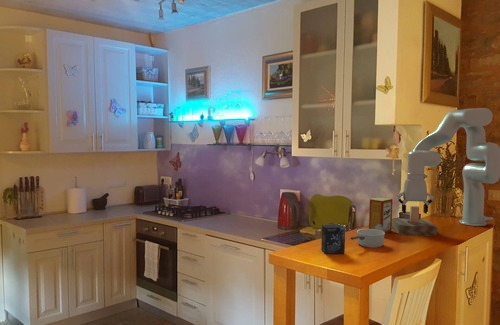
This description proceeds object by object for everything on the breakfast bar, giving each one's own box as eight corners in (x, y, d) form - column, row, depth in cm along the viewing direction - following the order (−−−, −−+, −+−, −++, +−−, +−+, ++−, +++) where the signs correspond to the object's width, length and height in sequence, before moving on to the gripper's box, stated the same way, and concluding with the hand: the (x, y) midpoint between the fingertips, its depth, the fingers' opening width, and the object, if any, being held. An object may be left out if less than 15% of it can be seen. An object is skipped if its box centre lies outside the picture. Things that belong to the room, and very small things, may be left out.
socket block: (425, 228, 207) (425, 219, 206) (436, 236, 191) (437, 226, 190) (392, 227, 208) (392, 218, 208) (400, 235, 192) (401, 225, 192)
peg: (416, 230, 201) (417, 206, 200) (419, 232, 197) (420, 207, 196) (408, 230, 202) (409, 205, 201) (410, 232, 198) (411, 207, 197)
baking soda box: (378, 228, 205) (379, 196, 203) (391, 231, 200) (392, 198, 199) (368, 231, 198) (369, 198, 197) (381, 234, 193) (382, 200, 192)
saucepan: (339, 248, 170) (339, 235, 169) (365, 240, 183) (366, 227, 183) (364, 254, 161) (364, 240, 161) (389, 245, 175) (390, 232, 174)
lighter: (374, 235, 191) (375, 218, 191) (376, 234, 192) (377, 217, 192) (388, 238, 186) (389, 220, 185) (390, 237, 187) (391, 220, 187)
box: (325, 254, 160) (326, 227, 160) (321, 250, 166) (321, 224, 165) (345, 254, 162) (345, 227, 161) (339, 250, 167) (340, 223, 166)
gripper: (431, 176, 200) (430, 211, 202) (394, 176, 202) (394, 211, 203) (437, 178, 193) (436, 215, 194) (398, 178, 195) (397, 214, 196)
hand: (414, 213), depth 199 cm, fingers open, 9 cm apart
